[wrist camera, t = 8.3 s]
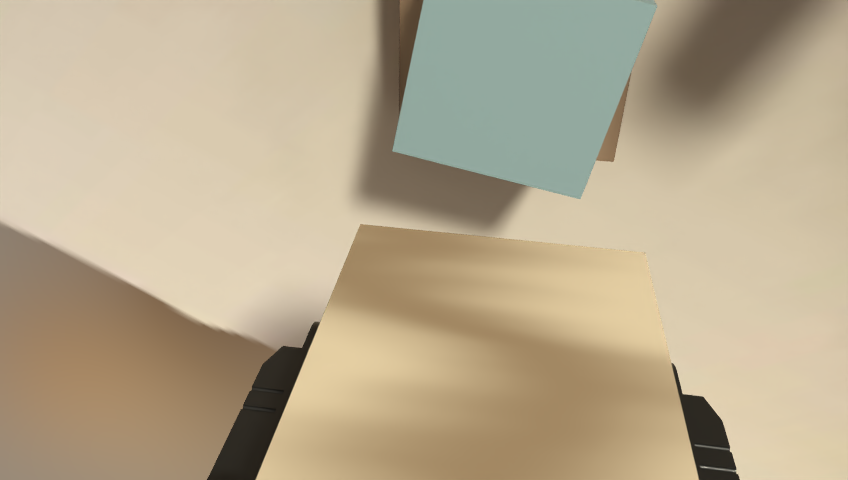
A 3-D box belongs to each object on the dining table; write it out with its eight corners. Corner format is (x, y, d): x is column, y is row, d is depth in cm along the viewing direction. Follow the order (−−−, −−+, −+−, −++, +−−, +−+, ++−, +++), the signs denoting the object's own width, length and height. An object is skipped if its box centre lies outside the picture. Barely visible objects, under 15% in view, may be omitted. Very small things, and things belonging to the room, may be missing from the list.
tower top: (407, 114, 31) (392, 151, 28) (446, -70, 27) (434, -52, 24) (575, 156, 31) (580, 199, 28) (641, -20, 27) (657, 5, 24)
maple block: (365, 416, 15) (279, 726, 10) (360, 223, 12) (239, 518, 7) (596, 446, 15) (627, 787, 10) (644, 252, 12) (724, 589, 7)
